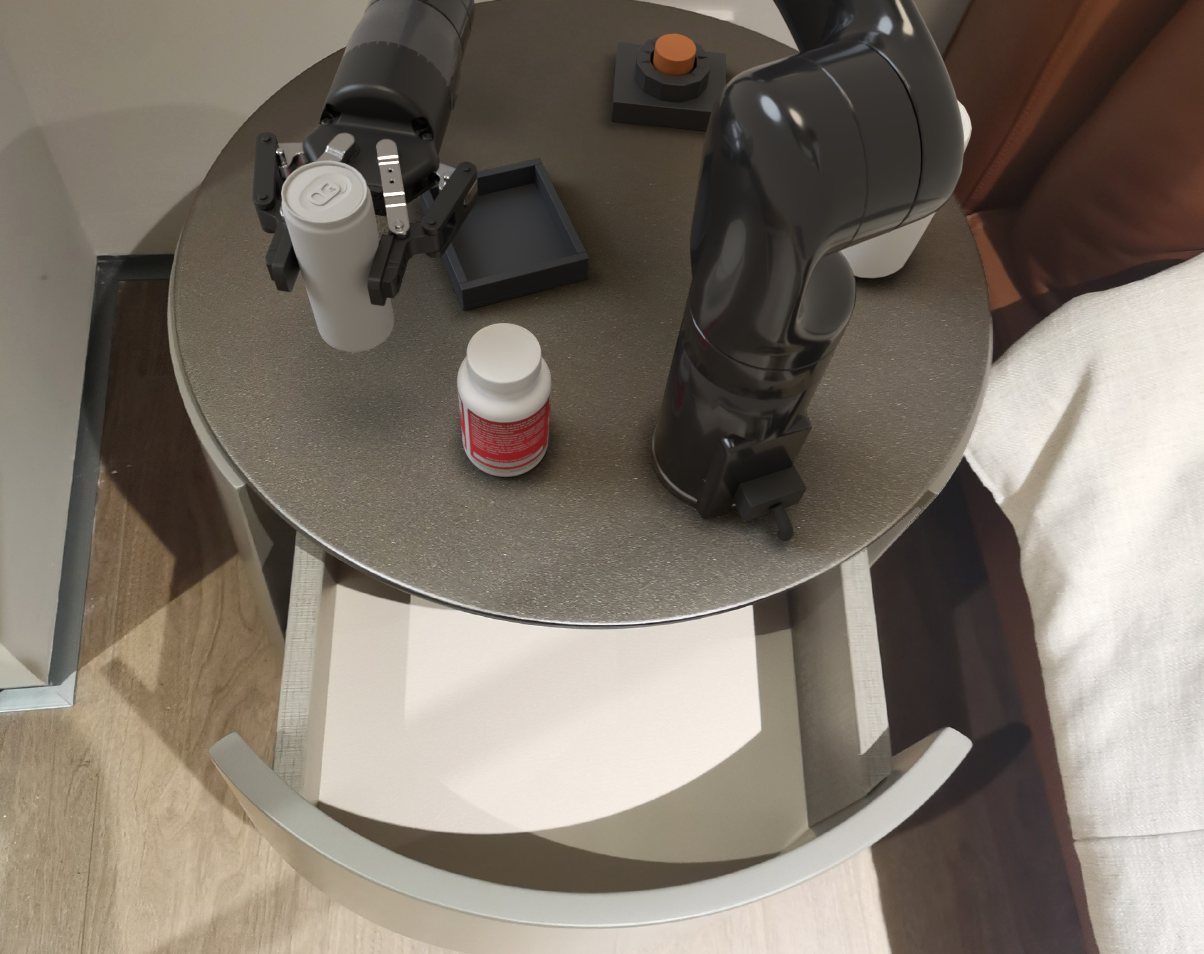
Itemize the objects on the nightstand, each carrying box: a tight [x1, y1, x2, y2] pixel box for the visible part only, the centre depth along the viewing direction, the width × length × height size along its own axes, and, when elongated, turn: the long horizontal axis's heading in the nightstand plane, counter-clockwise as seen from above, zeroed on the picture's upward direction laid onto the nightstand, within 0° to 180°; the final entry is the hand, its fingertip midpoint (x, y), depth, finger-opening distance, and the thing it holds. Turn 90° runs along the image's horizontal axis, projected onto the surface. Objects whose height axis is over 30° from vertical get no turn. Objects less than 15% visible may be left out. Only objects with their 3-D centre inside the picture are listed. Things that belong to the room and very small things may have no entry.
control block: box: [610, 34, 727, 132], centre depth 88 cm, size 10×8×4 cm
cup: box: [841, 99, 973, 279], centre depth 76 cm, size 8×8×14 cm
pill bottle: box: [456, 322, 552, 478], centre depth 66 cm, size 6×6×11 cm
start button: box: [653, 33, 696, 76], centre depth 86 cm, size 4×4×2 cm
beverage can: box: [281, 161, 395, 353], centre depth 58 cm, size 5×5×12 cm
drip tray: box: [419, 157, 590, 312], centre depth 79 cm, size 11×10×2 cm
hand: (328, 288), depth 56 cm, fingers closed on beverage can, 5 cm apart
